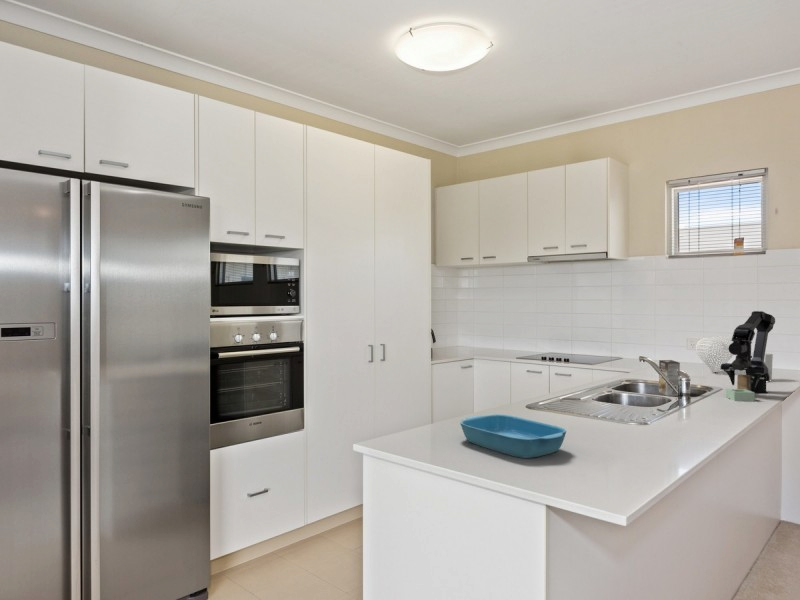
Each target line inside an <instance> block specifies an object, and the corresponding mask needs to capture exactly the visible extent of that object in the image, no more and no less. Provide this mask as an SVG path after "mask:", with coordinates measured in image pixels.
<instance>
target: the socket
mask: <svg viewBox="0 0 800 600" xmlns="http://www.w3.org/2000/svg"><path fill="white" fill-rule="evenodd" d="M726 397H727V398H726ZM755 397H756V393H755V392H752V391H749V390H746V389H737V388H726V389H725V398H726V399H728V398H730V399H729V400H731V399H732V400H731V401H733V400H735V401H734V402H755V399H756V398H755Z"/></svg>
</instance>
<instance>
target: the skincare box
mask: <svg viewBox="0 0 800 600" xmlns="http://www.w3.org/2000/svg"><path fill="white" fill-rule="evenodd" d="M753 354H754V351H753V352H751V356H752V358H753ZM752 358H751V359H752ZM773 359H774V357H773V354H772V353H769V352H768V353H767V352H765V356H764V362H765V364H766V366H767V368H768V373H769V376H770V379H769V381H770V380H771V381H772V377H773Z"/></svg>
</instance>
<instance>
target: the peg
mask: <svg viewBox="0 0 800 600" xmlns="http://www.w3.org/2000/svg"><path fill="white" fill-rule="evenodd" d="M736 389H746V390H749V391H750V375H746V374H741V373H740V374H738V375H737V388H736Z"/></svg>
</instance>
